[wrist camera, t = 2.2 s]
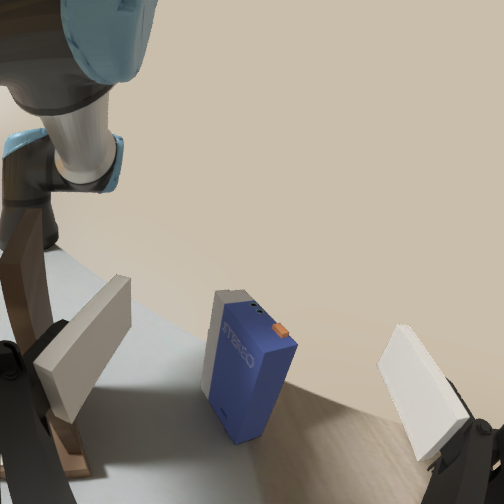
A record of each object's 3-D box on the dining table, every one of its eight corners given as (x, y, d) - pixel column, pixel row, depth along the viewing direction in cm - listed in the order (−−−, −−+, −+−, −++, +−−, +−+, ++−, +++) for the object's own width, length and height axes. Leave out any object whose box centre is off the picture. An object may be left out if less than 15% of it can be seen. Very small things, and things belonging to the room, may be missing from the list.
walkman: (261, 436, 22) (300, 339, 18) (234, 445, 21) (265, 348, 17) (224, 381, 28) (244, 284, 24) (200, 386, 27) (214, 286, 23)
